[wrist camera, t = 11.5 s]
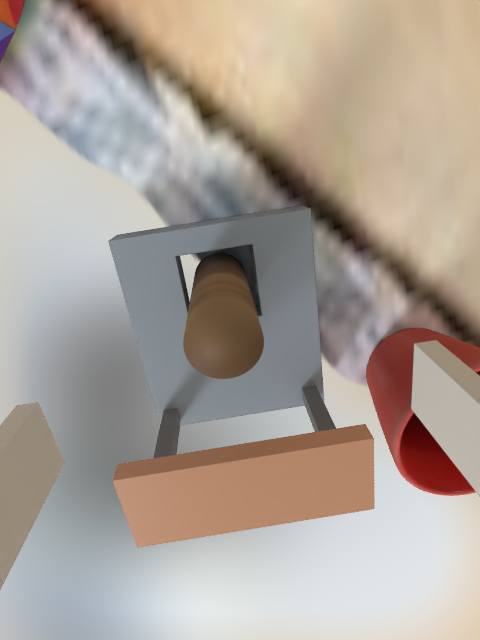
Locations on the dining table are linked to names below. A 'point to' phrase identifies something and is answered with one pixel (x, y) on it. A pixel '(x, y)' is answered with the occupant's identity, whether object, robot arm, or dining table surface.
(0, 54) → the pencil case
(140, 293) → the socket board
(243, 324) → the dowel
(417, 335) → the flower pot
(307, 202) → the dining table surface
